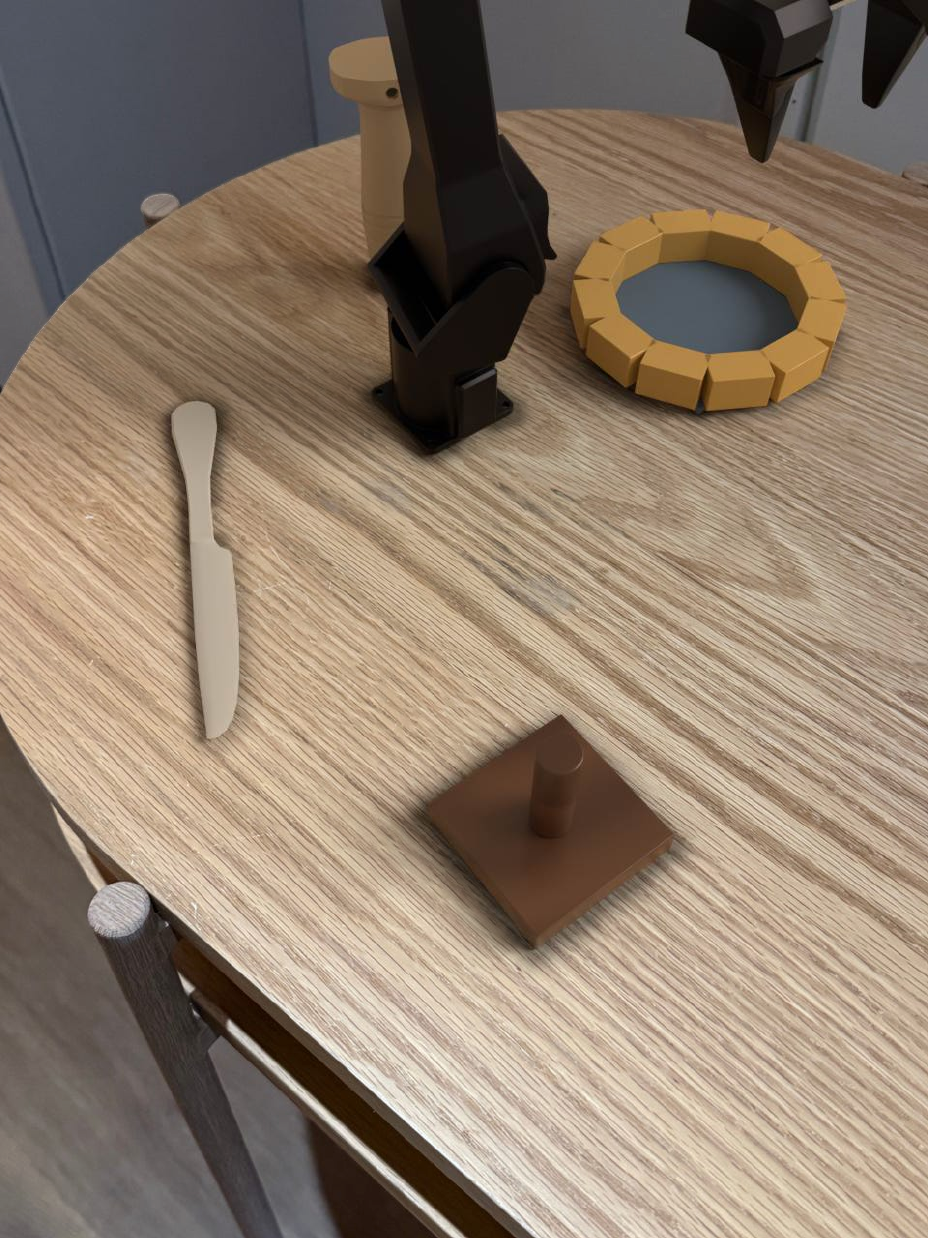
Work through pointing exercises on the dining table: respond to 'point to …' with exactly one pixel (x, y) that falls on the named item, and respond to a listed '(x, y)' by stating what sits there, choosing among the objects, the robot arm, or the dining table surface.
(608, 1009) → the dining table surface
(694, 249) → the ring
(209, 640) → the butter knife
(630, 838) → the post
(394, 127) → the handle
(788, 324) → the mat
